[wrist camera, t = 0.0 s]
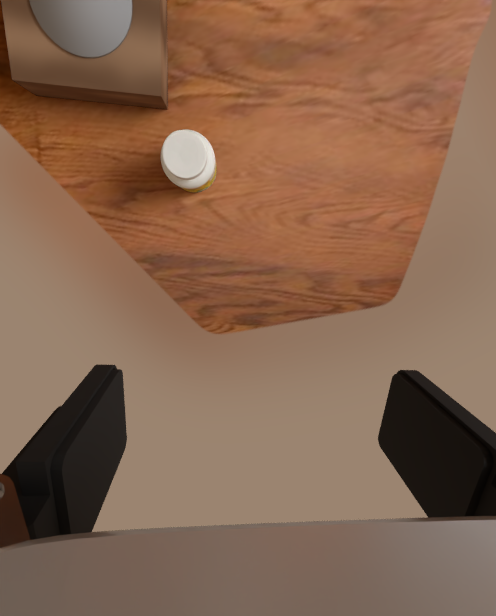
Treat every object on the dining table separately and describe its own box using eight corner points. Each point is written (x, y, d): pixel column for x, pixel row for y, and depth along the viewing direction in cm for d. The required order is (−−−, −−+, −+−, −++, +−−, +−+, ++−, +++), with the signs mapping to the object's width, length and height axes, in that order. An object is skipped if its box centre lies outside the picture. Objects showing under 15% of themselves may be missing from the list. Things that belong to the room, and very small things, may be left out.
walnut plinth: (15, -77, 28) (-19, -125, 24) (166, -52, 30) (157, -94, 26) (36, 95, 33) (10, 78, 28) (167, 109, 34) (160, 95, 30)
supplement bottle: (221, 152, 36) (221, 132, 27) (210, 198, 37) (207, 193, 28) (176, 138, 35) (160, 111, 26) (167, 185, 36) (149, 176, 27)
